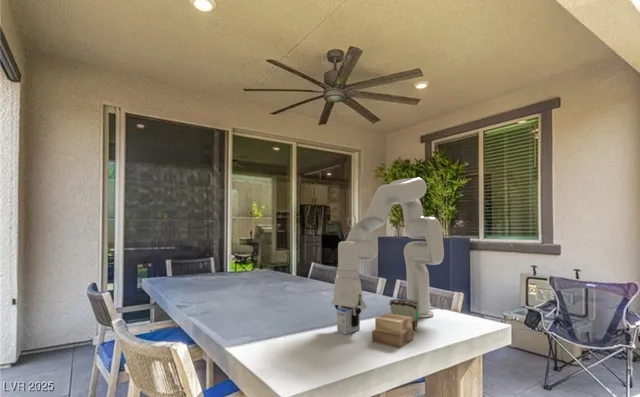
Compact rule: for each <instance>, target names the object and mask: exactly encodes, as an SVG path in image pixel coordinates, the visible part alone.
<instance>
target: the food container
mask: <svg viewBox="0 0 640 397" xmlns="http://www.w3.org/2000/svg"><path fill="white" fill-rule="evenodd" d="M388 306H390V312H391V314H397V315H402V316H408V317H412V329H413V333H414V332H417V330H418V320H419V317H418V310H420V305H419V303H418V302H417V301H414V300H408V299H407V298H406V299H405V298H394V299H390V301H389V304H388Z"/></svg>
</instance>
